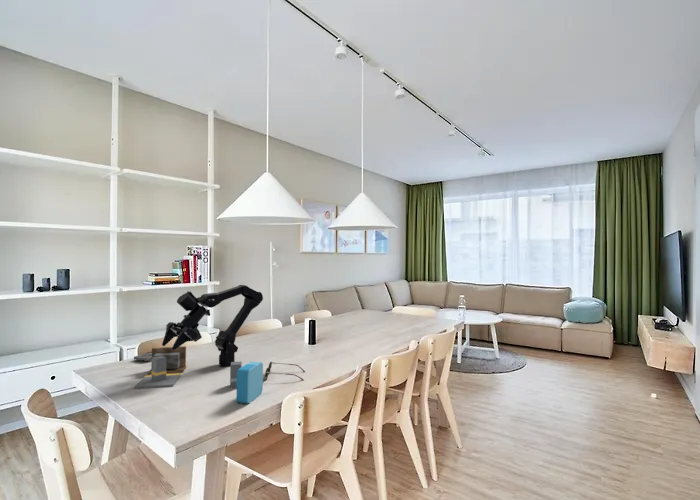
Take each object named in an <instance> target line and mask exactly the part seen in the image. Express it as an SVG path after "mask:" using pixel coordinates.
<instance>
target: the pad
mask: <svg viewBox="0 0 700 500" xmlns="http://www.w3.org/2000/svg"><path fill="white" fill-rule="evenodd" d="M181 376H182V373H166V380H162V381H158V382H155V381H153V380H152V374H145V375H144V376H143V377H142V378H141V379H140V380H139V381H138V382H137V384H135V385H134V387H133V389H134V390H138V389H151V388H152V389H153V388H154V389H155V388H169V387H175V384H177V382H178V380H179V379H180V377H181Z"/></svg>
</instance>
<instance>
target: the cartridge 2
mask: <svg viewBox="0 0 700 500" xmlns="http://www.w3.org/2000/svg"><path fill="white" fill-rule="evenodd" d="M242 363H243V362H242V361H235V362H231V365H230V366H229V367H230V377H229V387H230V389H233V388H235V387H237V371H238V369H239V368H241V367H243V366H242Z"/></svg>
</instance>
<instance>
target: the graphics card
mask: <svg viewBox="0 0 700 500" xmlns="http://www.w3.org/2000/svg"><path fill="white" fill-rule="evenodd" d="M156 348H158V347H156ZM133 360H136V361H143V360H144V361H145V362H150V361H151V362H152V351H149V352H145V353H142V354H139V355H136V356H133ZM144 361H143V362H144Z"/></svg>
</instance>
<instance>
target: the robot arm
mask: <svg viewBox="0 0 700 500" xmlns="http://www.w3.org/2000/svg"><path fill="white" fill-rule="evenodd" d="M240 295H241V296H242V297H244V299H243V300H244V301H243V305H242V307H240V309H239V310H238V313H237V314H236V315H235V317H234V318H233V320H232V321H231V323H230V324H229V326H228V327H227V329H226V330H220V331H219V333H218V334H217V336H215V340H214V344H215V345H214V346H215V347H216V348H217V351H219V352H220V353H219V355H218V365H219V367H230V365H231V362H236V361H235V360H236V358H235V357H236V355H235V354H236V353H237V352H238V350H239V347H238V346H237V345H236V344H235V341H236V337H237V333H238V332H239V330H240V329H241V327H242V326H243V325H244V323H245V321H246V320H247V319H248V317H249V315H250V314H251V313H252V311H253V309H255V308H257V307H258V306H259V305H260V304H261V303H262V302H263V300H264V297H263V293H262V292H261V291H256V290H254V289H253V288H251V287H249V286H248V285H245V284H239V285H237V286H233V287H230V288H228V289H225V290H222V291H219V292H210V293H203V294H202V295H200V296H199V297H196V296H195V295H194V294H193V293H192V291H190V290H189V291H187V292H185V293H183V294H182V295H180V296H179V297H178V298H177V299H176V303H177V304H178V305H179V306H180V307H181V308H182V309H183V310H184V311H186V312H188V313H187V314H184V315H183V319H182V320H181V321H180V322H177V323H176V322H173V321H170V322H168V323H167V324H166V325H165V329H166V330H165V333H164V337H163V340H162V344H161V345H162V347H166V345H168V343H169V342H171V340H173V338H176V339H175V341H174V343H173V345H172V346H171V347H172V349H173V350H175V349H176V348H178V347H181V346H182V345H184V344H185V343H187V342H195V343H196V342H198V341H199V340H201V339H202V338H203V337H202V335H201V332H200V330H199V329H198V327H199V324H200V323H199V322H200V321H201V320H202V319H203V317H205V316H208V317H210V316H211V309H208V308H214V307H216V306H218V305H219V304H220V303H222V302H224V301H226V300H228V299H229V300H230V299H231V298H234V297H237V296H240Z"/></svg>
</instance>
